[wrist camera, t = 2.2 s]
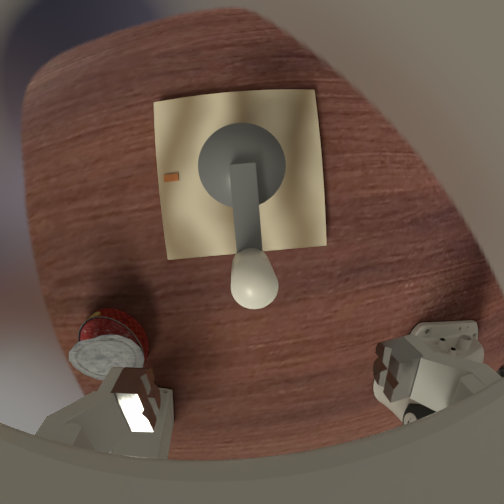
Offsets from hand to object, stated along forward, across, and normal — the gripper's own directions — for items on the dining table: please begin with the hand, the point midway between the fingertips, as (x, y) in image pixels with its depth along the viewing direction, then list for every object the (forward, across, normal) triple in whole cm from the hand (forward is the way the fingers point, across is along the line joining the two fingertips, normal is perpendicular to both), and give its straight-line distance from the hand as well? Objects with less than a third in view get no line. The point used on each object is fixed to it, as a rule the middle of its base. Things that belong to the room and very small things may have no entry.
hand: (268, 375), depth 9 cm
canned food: (+25, +19, +12) cm, 34 cm away
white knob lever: (+17, 0, -5) cm, 18 cm away
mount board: (+25, 0, -8) cm, 26 cm away
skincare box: (+25, +16, +24) cm, 38 cm away
